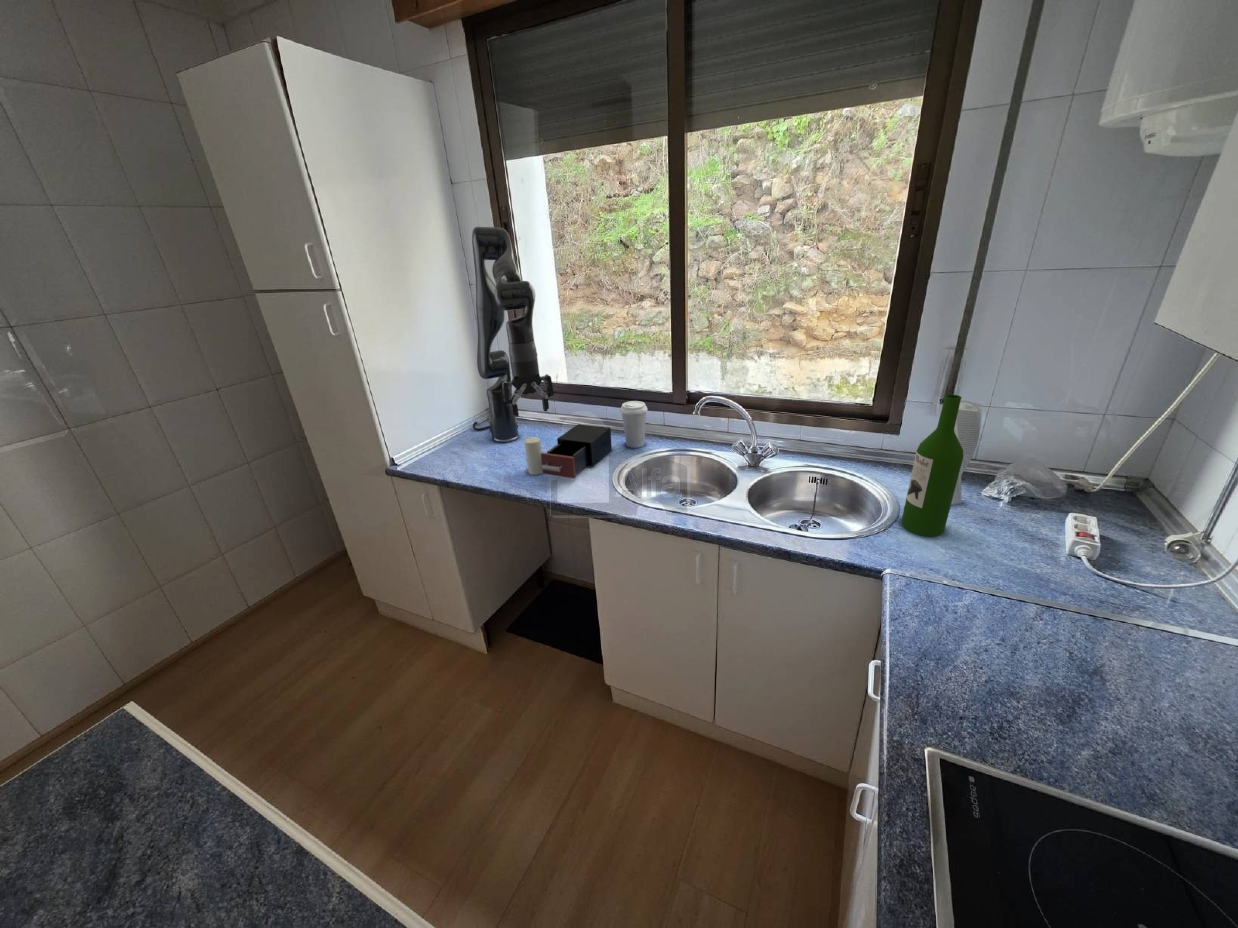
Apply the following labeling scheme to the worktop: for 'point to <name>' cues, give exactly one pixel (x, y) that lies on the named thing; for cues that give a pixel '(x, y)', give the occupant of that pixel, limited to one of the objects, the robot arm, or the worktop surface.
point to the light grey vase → (966, 437)
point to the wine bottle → (934, 475)
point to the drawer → (565, 459)
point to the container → (533, 455)
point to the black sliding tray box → (590, 440)
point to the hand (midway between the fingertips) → (531, 413)
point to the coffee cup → (634, 422)
